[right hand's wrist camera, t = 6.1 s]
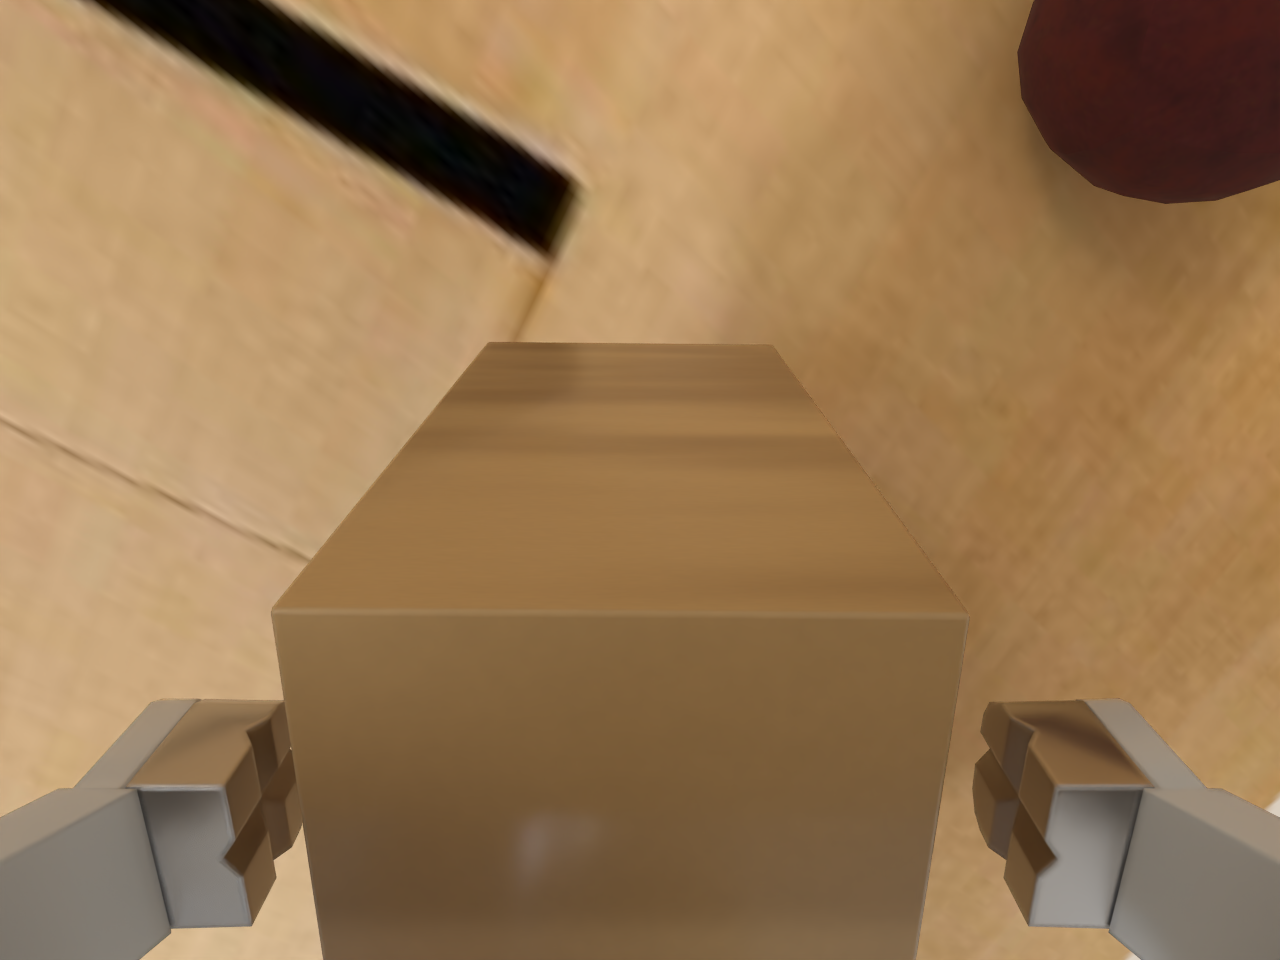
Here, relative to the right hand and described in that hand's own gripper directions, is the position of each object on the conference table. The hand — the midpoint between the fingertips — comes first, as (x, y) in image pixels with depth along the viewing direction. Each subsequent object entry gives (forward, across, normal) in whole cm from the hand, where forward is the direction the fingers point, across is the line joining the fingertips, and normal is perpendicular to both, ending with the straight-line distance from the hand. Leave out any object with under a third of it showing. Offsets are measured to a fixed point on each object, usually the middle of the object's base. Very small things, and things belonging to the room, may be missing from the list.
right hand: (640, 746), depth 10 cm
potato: (+18, -13, -9) cm, 24 cm away
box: (+10, 0, +8) cm, 13 cm away
